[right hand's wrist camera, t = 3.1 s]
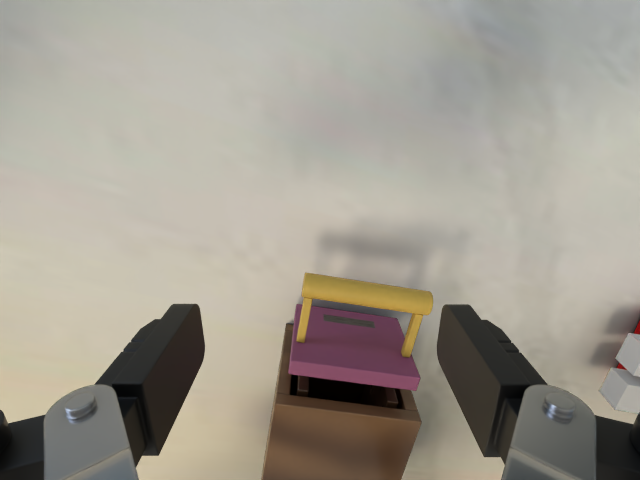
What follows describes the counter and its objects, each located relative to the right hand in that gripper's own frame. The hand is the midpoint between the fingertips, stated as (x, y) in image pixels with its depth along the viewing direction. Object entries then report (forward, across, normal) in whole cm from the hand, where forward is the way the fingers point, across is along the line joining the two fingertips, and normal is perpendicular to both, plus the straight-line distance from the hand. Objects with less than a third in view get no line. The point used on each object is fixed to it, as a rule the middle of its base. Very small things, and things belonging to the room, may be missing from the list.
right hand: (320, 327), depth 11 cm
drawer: (+17, -2, +15) cm, 22 cm away
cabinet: (+18, 0, +21) cm, 27 cm away
